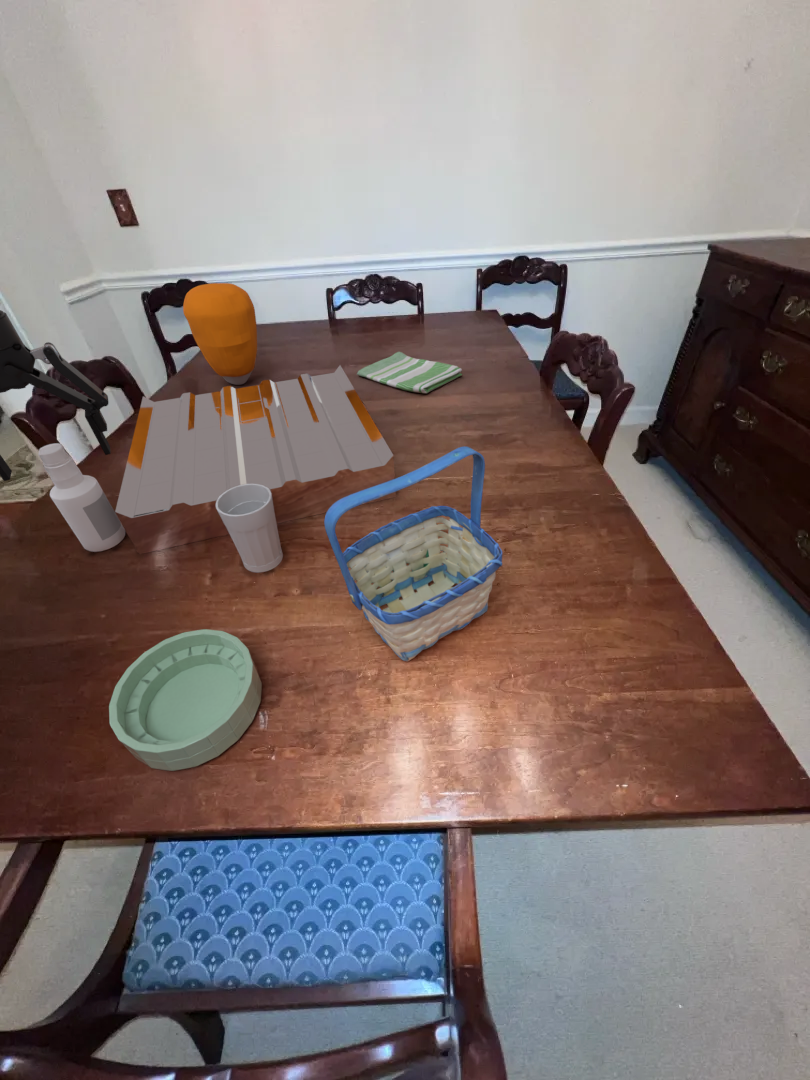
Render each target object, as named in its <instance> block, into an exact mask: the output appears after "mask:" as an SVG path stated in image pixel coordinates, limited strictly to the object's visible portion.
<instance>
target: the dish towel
mask: <svg viewBox="0 0 810 1080" xmlns="http://www.w3.org/2000/svg"><path fill="white" fill-rule="evenodd" d="M462 371H463V370H462V368H461V367H459V366H458V365H454V364H450V363H444V362H439V361H434V360H433V361H432V360H428V359H423V358H415V357H411V356H409V355H406V354H405V353H403V352H402V351H397V352H395V353H393V354H392V355H391V356H388V357H387V358H386V357H385V358H383V359H380V360H378V361H376V362H373V363H372V364H368V365H366V366H364V367H362V368H361V369H359V370H358V371H357V373H356V375H357V376H359V377H363V378H366V379H368V380H371V381H374V382H376V383H379V384H382V385H387V386H389V387H392V388H396V389H399V390H403V391H406V392H410V393H411V392H412V393H418V394H419V393H420V394H428V393H430V392H432V391H434V390H435V389H438V388H440V387H442V386H444V385H446V384H448V383H450V382H452V381H453V380H456V379H457V378H459V377H461V376H463V373H461V372H462Z"/></svg>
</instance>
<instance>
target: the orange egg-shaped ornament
mask: <svg viewBox="0 0 810 1080" xmlns="http://www.w3.org/2000/svg"><path fill="white" fill-rule="evenodd" d="M182 311H183V316H184V317H185V319H186V321H187V323H188V326H189V330H190V332H191V334H192V337H193V339H194V341H195V344H196V345H197V347H198V349H199V351H200V352H201V353H202V356H203V358H204V359H205V361H206V363H207V364H208V365H209V366H210V368H211V369H212V370H213V371H214V372H215V373H216V374H217V375H218V377H219V376H220V377H221V378H222V379H223V380H225V381H226V382H227V383H229V384H231V385H234V386H241V385H244V384H246V383H247V381H248V380H249V378H250V377H251V374H252V373H253V371H254V370H255V367H256V360H257V354H258V328H257V317H256V310H255V306H254V303H253V301H252V299H251V296H250V295H249V293H248V292H247V291H246V290H245V289H243V288H242V287H240V286H238V285H236V284H234V283H229V282H221V283H220V282H212V283H205V284H199V285H197V286H195V287H192V288H191V289H189V291H188V292H187V293H186V294H185V296H184V299H183V305H182Z"/></svg>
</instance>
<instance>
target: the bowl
mask: <svg viewBox="0 0 810 1080" xmlns="http://www.w3.org/2000/svg"><path fill="white" fill-rule="evenodd" d="M262 688H263V684H262V680H261V677H260V674H259V671H258V668H257V666H256V663H255V661H254V659H253V657H252V654H251V652H250V650H249V648H248V647H247V645H245V643H243V641H241V640H240V638H239V637H237V636H235V635H233V634H231V633H228V632H226V631H224V630H217V629H209V628H208V629H207V628H202V629H196V630H190V631H185V632H181V633H179V634H176V635H173V636H170V637H168V638H165V639H163V640H162V641H160V642H158V643H157V644H155V645H154V646H152V647H150V648H149V649H146V651H144V652H143V653H142V654H141V655H140V656H139V657H138V658H136V660H134V662H132V663H131V664H130V665H129V666H128V667H127V668H126V670H125V671H124V673H123V674H122V675H121V677H120V678H119V680H118V682H117V683H116V684H115V686H114V689H113V692H112V694H111V698H110V701H109V704H108V716H109V726H110V728H111V729H112V731H113V733H114V734H115V737H116V738H117V740H118V741H119V742H120V743H121V744H122V745H123V746H124V747H125V748H126V749H127V751H128V752H129V753H130V754H131V755H132V756H133V757H134V758H135V759H136V760H138V761H139V762H140V763H142V764H144V765H146V766H147V767H149V768H151V769H155V770H163V771H170V772H175V771H181V770H185V769H190V768H195V767H198V766H201V765H202V764H205V763H207V762H209V761H211V760H213V759H216V758H218V757H219V756H221V754H223V753H224V752H225V751H227V750H228V749H229V748H230V747H231V746H232V745H234V744H235V743H236V742H238V741H239V740H240V738H241V737H242V736H243V734H244V733H245V732H246V731H247V730H248V728H249V726H250V725H251V724H252V723H253V721H254V719H255V717H256V714H257V711H258V709H259V707H260V704H261V701H262Z"/></svg>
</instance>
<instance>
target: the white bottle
mask: <svg viewBox="0 0 810 1080" xmlns="http://www.w3.org/2000/svg"><path fill="white" fill-rule="evenodd" d="M38 457H39V458H40V460H41V462H42V466H43V468H44V470H45V471H46V473H47V474H48V476H49V478H50V480H51V481H52V483H53V486H52V488H51V489H50V491H49V497H50V499H51V501H52V502H53V503H54V505H55V506H56V508H57V509H58V511H59V512H60V514H61V515H62V517H63V518H64V520H65V521H66V523H67V525H68V526H69V528H70V529H71V531H72V532H73V534H74V536H75V537H76V538H77V539H78V540H77V541H79V543H80V544H81V546H82V547H83V549H84V550H86V551H88V552H92V553H93V552H94V553H98V552H104V551H107V550H109V549H111V548H114V547H116V546H117V545H118V544H120V543H121V542H122V541H123V540H124V539H125V536H126V530H125V529H124V527H123V525H122V523H121V521H120V520H119V518H118V516H117V514H116V513H115V510H114V508H113V506H112V504H111V502H110V501H109V499H108V496H107V495H106V493H105V492H104V490H103V489H102V486H101V484H100V483H99V482H98V480H97V478H96V477H94V476H92V475H88V474H83V473H82V471H81V469H80V468H79V467H78V465H77V464H76V462H75V460H74V458H73V457H72V456H71V455H70V454H69V452H67V450H66V449H65V446H64V445H63V444H62V443H58V442H56V443H55V442H54V443H49V444H46V445H43V446H42V447H40V448H38Z"/></svg>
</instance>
